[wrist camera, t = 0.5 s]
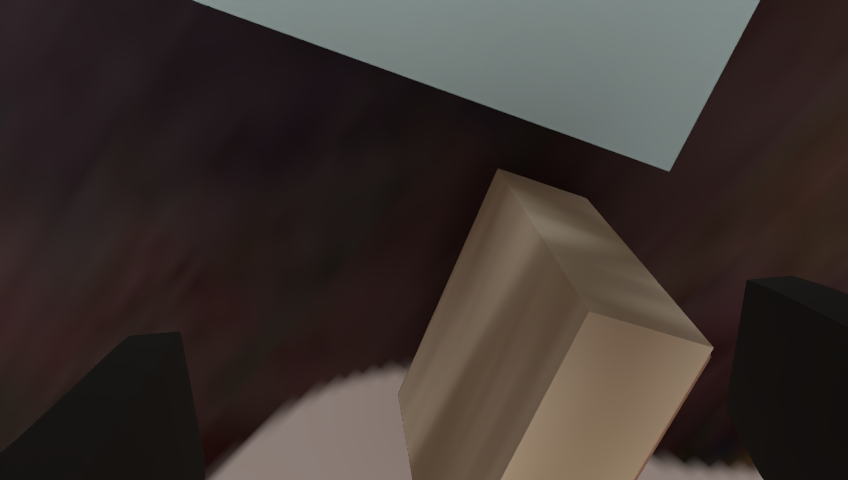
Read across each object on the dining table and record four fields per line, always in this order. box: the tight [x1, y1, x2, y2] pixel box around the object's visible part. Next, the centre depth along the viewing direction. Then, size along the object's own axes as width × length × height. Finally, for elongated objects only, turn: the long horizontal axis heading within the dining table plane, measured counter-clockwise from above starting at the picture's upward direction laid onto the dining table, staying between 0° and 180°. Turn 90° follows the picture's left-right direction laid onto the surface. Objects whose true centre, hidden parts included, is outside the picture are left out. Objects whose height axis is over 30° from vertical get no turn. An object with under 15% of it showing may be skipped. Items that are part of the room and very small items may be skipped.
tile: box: [398, 168, 713, 480], centre depth 18 cm, size 3×7×7 cm, turn 159°
